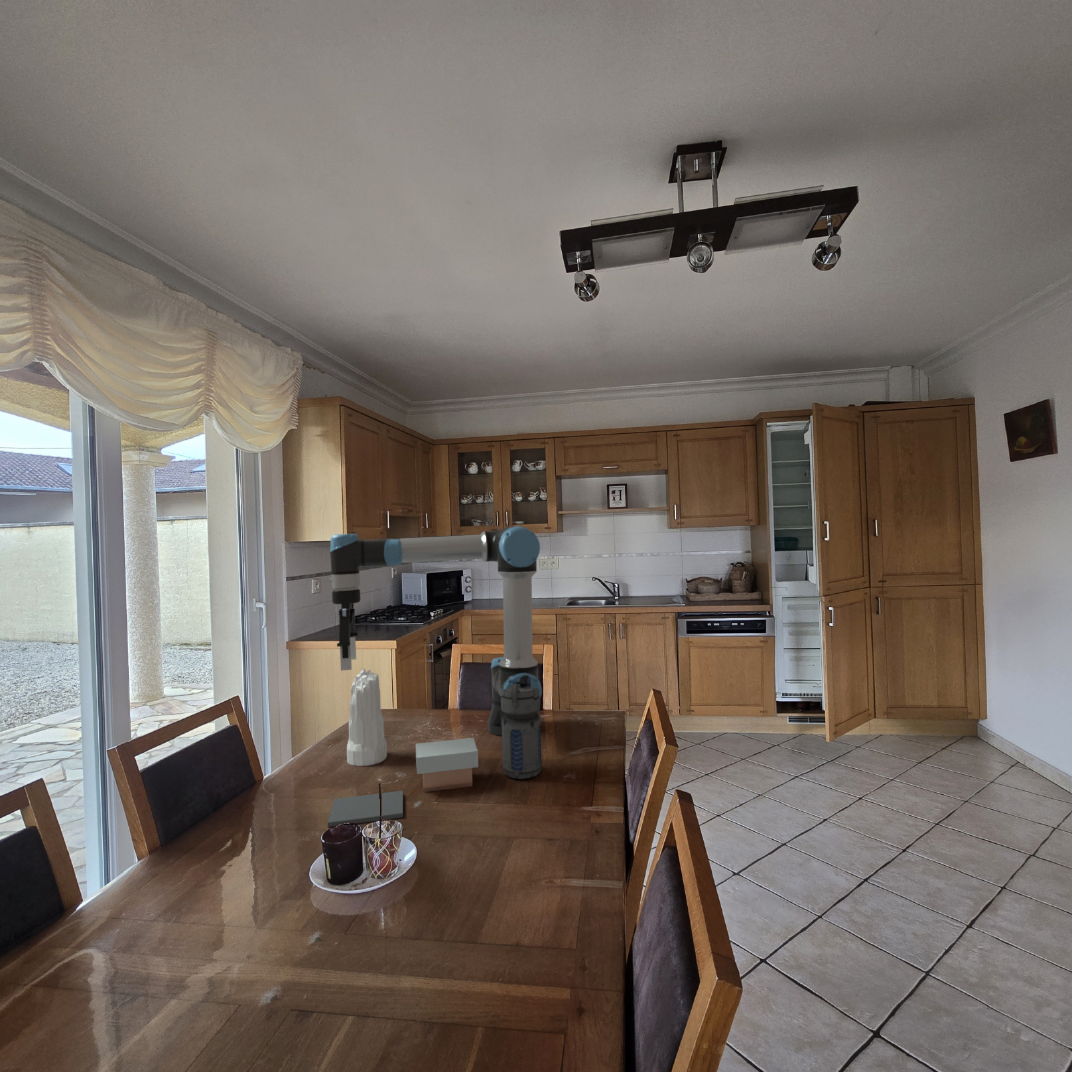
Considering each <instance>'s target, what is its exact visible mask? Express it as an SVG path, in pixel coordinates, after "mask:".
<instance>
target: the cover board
mask: <svg viewBox="0 0 1072 1072" xmlns="http://www.w3.org/2000/svg"><path fill="white" fill-rule="evenodd" d="M415 760H416V762H415V763H416V775H419V774H420V775H421V774H422V775H423V773H431V772H440V771H449V770H457V769H466V768H472V769H474V768H479V751H478V747H477V745H476V741H475V738H474V737H467V738H458V739H448V740H439V741H431V742H430V741H429V742H419V743H415Z"/></svg>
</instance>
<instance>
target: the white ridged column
mask: <svg viewBox="0 0 1072 1072" xmlns="http://www.w3.org/2000/svg"><path fill="white" fill-rule="evenodd" d="M379 678H380V677H379V674H378V673H377V672H375V673H374V672H372V671H371V669H369V670H367V671H366V668H363V669H361V671H360V672H358V673H357V674H356V676H355V677H354V678H353V682H352V684H351V688H350V695H351V696H350V701H349V718H348V741H347V745H346V761H347V762H346V763H347V764H348V765H350V766H355V767H366V766H373V765H375V764H380V763H381V762H383V761H385V760H386V759H387V756H388V747H387V745H388V744H387V743H388V742H387V740H386V738H385V728H384V727H385V726H384V725H385V723H384V716H383V714H382V709H381V706H382V705H381V689H380V679H379Z"/></svg>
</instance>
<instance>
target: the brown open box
mask: <svg viewBox="0 0 1072 1072" xmlns="http://www.w3.org/2000/svg"><path fill="white" fill-rule="evenodd" d="M422 787H423V792H424V793H428V792H436V791H444V790H452V789H460V788H467V787H468V788H469V787H473V768H466V769H457V770H449V771H440V772H431V773H423V774H422Z"/></svg>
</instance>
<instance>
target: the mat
mask: <svg viewBox="0 0 1072 1072" xmlns="http://www.w3.org/2000/svg"><path fill="white" fill-rule="evenodd" d="M381 793H382V792H381ZM403 804H404V790H395V791H388V792H383V793H382V815H381V816H380V799H379V793H372V794H362V795H356V796H355V795H354V796H346V797H337V798H333V802H332V804H331V809H330V813H329V816H328V819H327V827H328V828H333V827H335V826H334V825H339V824H344V823H356V824H361V823H363V824H364V823H369V822H371V823H372V822H377V821H376V820H379V819H380V817H381V818H382V819H385V820H393V819H400V818H401V819H402V818H404V805H403ZM385 820H384V821H385ZM379 821H380V820H379Z"/></svg>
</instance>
